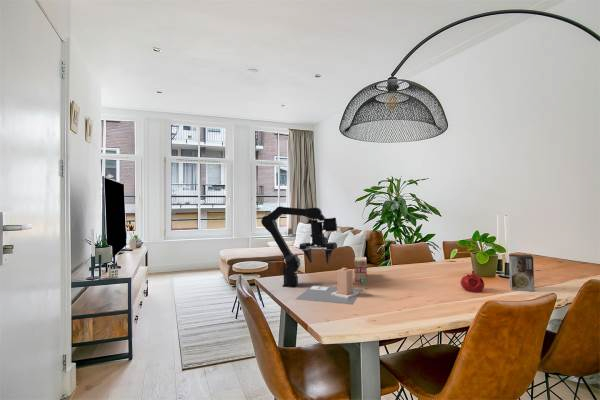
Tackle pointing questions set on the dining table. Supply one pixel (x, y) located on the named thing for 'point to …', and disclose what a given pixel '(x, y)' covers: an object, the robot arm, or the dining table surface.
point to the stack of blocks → (360, 270)
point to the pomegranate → (472, 283)
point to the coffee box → (521, 272)
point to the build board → (328, 295)
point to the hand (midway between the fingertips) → (319, 262)
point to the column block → (344, 281)
